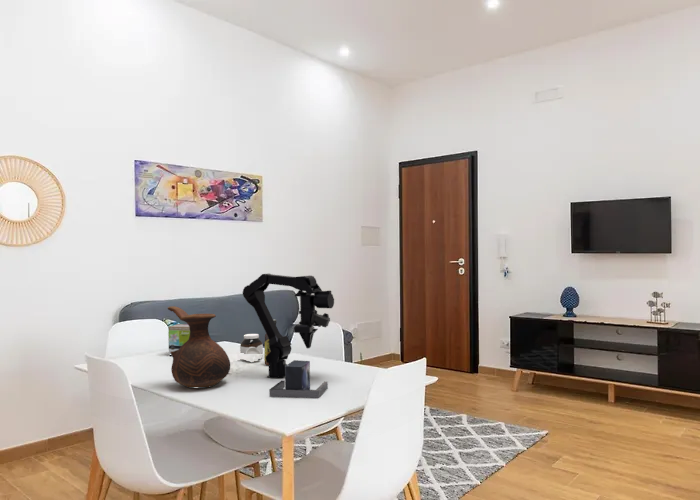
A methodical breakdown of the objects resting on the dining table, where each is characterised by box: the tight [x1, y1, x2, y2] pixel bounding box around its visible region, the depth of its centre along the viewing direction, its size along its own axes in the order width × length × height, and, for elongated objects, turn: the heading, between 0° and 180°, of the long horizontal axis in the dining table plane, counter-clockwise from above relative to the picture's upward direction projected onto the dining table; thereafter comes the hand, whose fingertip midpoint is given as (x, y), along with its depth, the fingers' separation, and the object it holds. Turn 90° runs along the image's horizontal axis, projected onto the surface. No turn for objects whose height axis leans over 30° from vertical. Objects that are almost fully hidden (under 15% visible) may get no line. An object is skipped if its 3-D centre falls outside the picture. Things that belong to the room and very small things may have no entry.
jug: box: [167, 305, 231, 388], centre depth 209 cm, size 22×22×30 cm
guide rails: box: [268, 379, 329, 399], centre depth 193 cm, size 17×13×2 cm
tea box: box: [167, 323, 190, 355], centre depth 272 cm, size 15×10×15 cm, turn 81°
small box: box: [284, 359, 311, 390], centre depth 193 cm, size 11×6×10 cm, turn 168°
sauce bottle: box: [263, 318, 277, 366], centre depth 243 cm, size 6×6×20 cm
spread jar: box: [239, 333, 264, 355], centre depth 253 cm, size 12×11×12 cm
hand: (308, 348), depth 214 cm, fingers closed
